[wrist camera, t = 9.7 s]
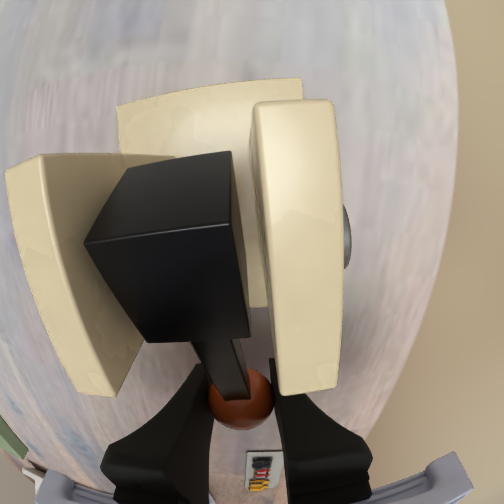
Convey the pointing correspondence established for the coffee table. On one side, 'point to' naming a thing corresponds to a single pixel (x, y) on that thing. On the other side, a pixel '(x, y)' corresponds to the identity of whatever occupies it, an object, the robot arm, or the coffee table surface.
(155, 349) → the coffee table surface
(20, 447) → the button block
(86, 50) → the coffee table surface
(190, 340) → the lever
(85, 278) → the bracket
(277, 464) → the multicoloured flat piece
